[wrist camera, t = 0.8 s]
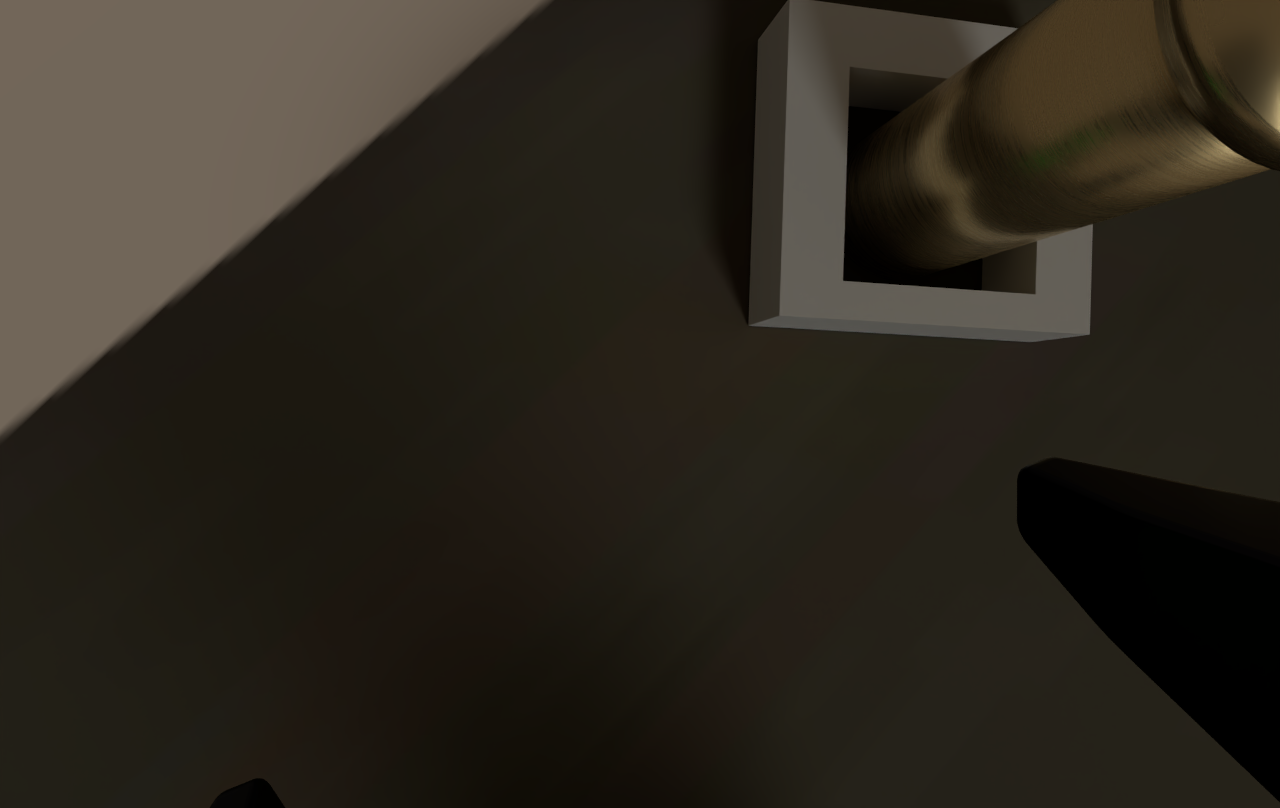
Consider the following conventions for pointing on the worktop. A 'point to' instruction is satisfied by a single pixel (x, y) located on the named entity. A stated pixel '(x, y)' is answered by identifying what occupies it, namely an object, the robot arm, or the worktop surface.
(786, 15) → the frame
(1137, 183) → the gold cylinder
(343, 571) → the worktop surface
